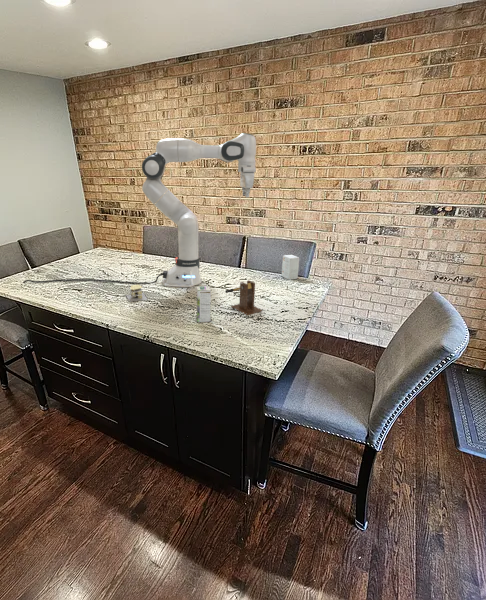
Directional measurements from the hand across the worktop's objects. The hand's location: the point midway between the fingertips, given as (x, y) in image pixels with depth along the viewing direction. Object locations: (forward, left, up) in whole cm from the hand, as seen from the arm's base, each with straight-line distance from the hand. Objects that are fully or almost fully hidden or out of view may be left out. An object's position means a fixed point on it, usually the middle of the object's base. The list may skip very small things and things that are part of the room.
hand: (245, 196), depth 178 cm
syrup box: (-25, -51, -47) cm, 74 cm away
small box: (+29, +6, -47) cm, 56 cm away
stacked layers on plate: (-58, -22, -47) cm, 78 cm away
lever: (-7, -40, -38) cm, 56 cm away
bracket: (-5, -43, -47) cm, 64 cm away
